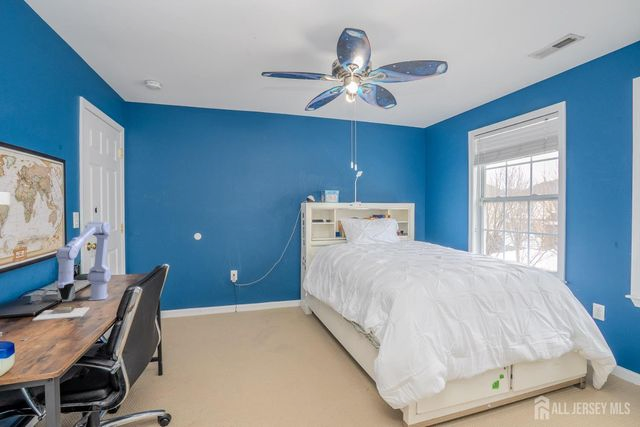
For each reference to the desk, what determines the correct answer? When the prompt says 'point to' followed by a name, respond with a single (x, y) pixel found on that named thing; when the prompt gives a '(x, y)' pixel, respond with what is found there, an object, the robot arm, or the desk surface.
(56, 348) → the desk surface
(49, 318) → the mat
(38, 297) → the lighter
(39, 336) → the desk surface
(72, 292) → the skincare box
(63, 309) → the brown wooden block
